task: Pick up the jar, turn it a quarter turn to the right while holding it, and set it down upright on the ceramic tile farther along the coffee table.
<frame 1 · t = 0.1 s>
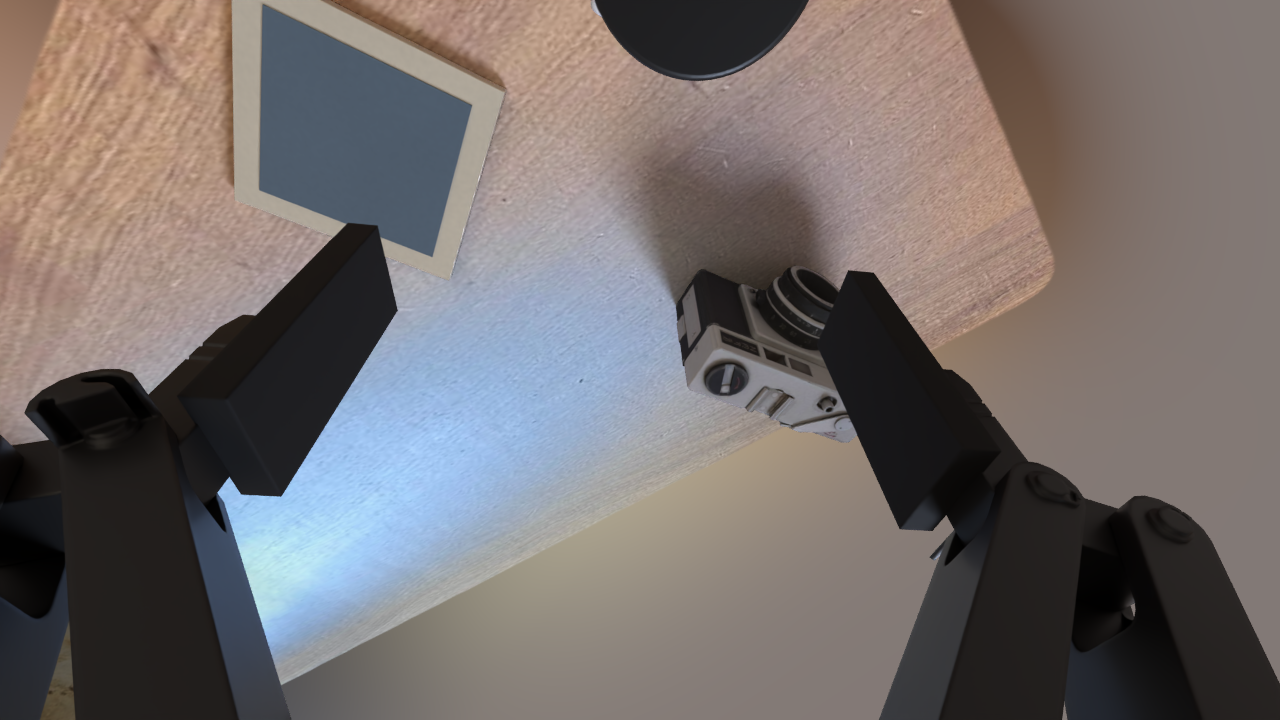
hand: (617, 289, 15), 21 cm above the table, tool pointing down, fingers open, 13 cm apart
tile: (366, 145, 32), on the table
vase: (194, 559, 64), on the table
camera: (774, 303, 40), on the table
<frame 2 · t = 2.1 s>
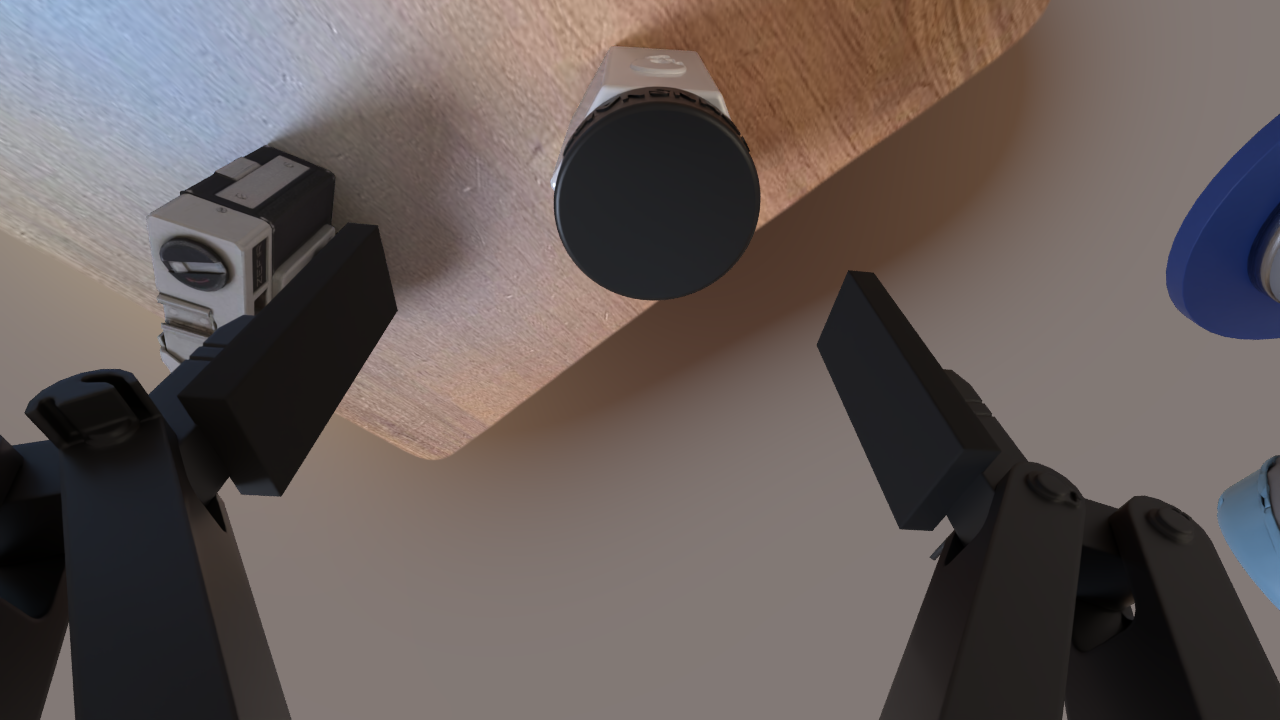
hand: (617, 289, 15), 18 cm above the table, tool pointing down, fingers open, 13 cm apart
jar: (648, 126, 29), on the table
camera: (323, 262, 35), on the table
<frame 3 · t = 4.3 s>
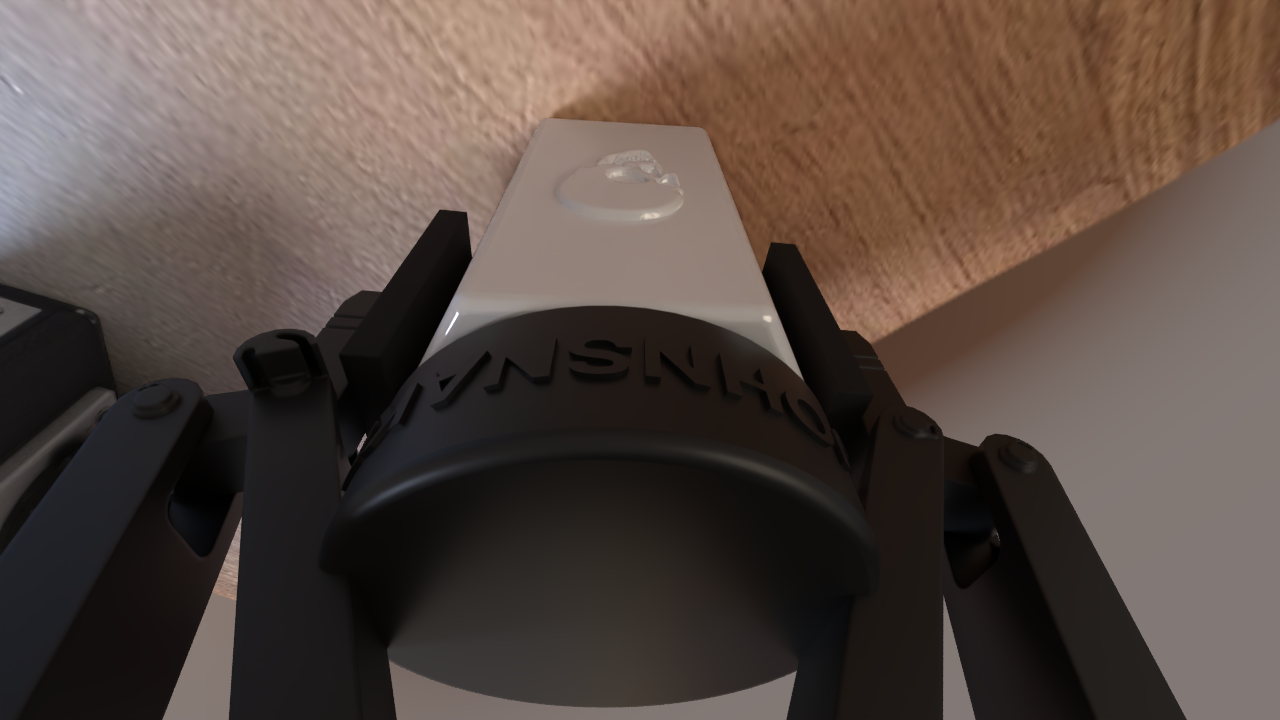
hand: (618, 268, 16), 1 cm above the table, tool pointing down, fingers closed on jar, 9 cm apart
jar: (619, 243, 17), on the table, touching gripper
camera: (120, 425, 22), on the table
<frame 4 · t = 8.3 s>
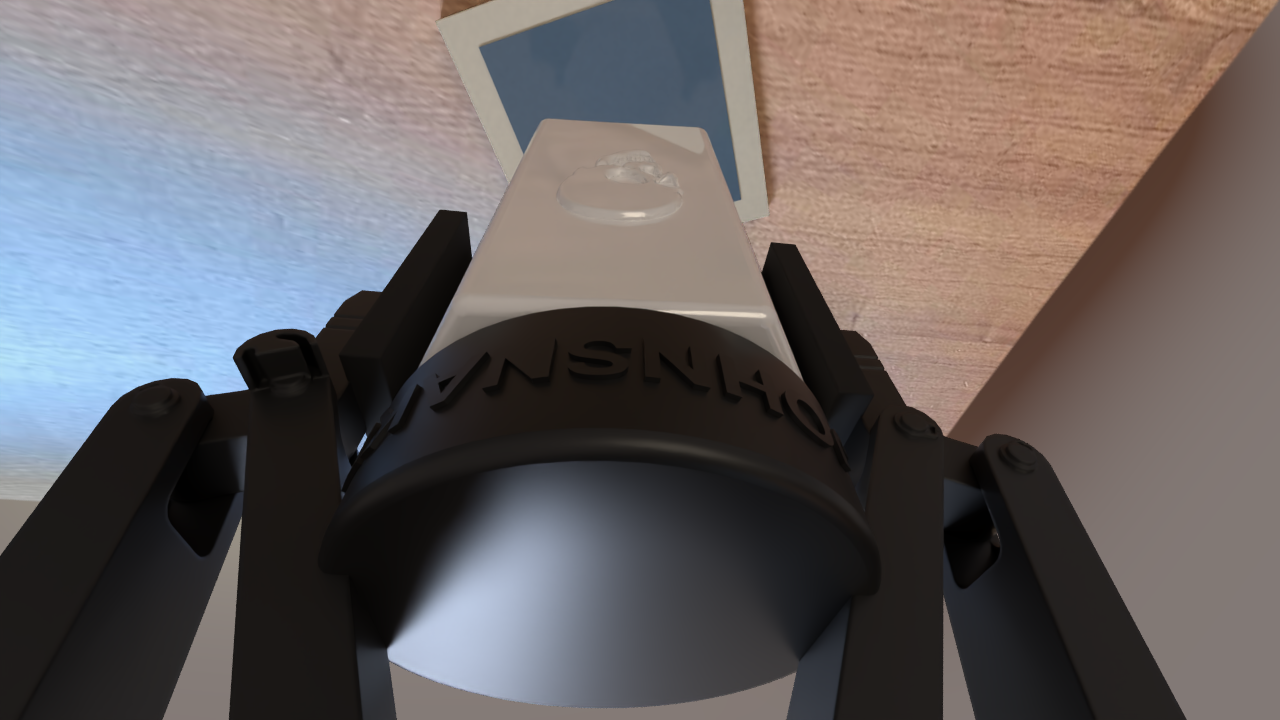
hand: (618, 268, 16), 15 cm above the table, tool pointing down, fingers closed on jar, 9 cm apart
tile: (622, 125, 27), on the table
jar: (619, 243, 17), point 14 cm above the table, touching gripper
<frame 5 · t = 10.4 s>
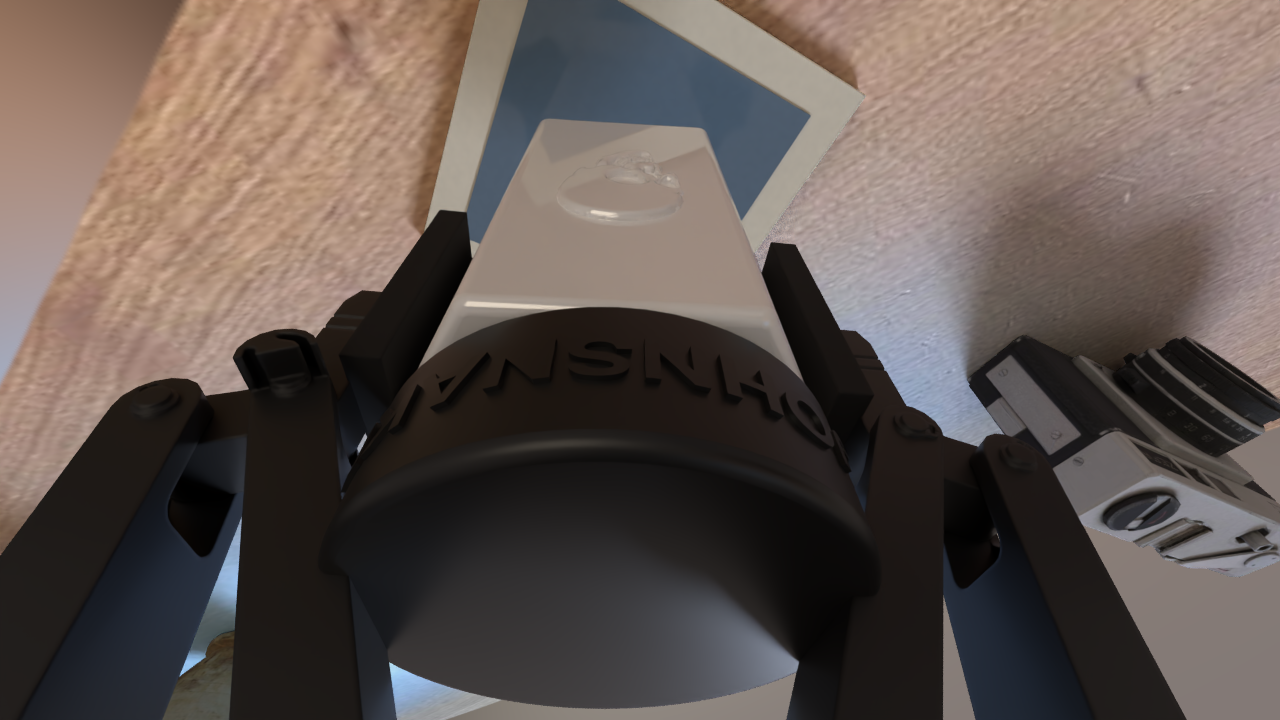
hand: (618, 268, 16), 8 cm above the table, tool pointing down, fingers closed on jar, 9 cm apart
tile: (623, 172, 22), on the table
vase: (268, 645, 54), on the table
jar: (619, 244, 17), point 7 cm above the table, touching gripper
camera: (1095, 375, 30), on the table
when the fingers open (2 cm above the table, at t = 12.2 s): jar stays where it is, resting on tile.
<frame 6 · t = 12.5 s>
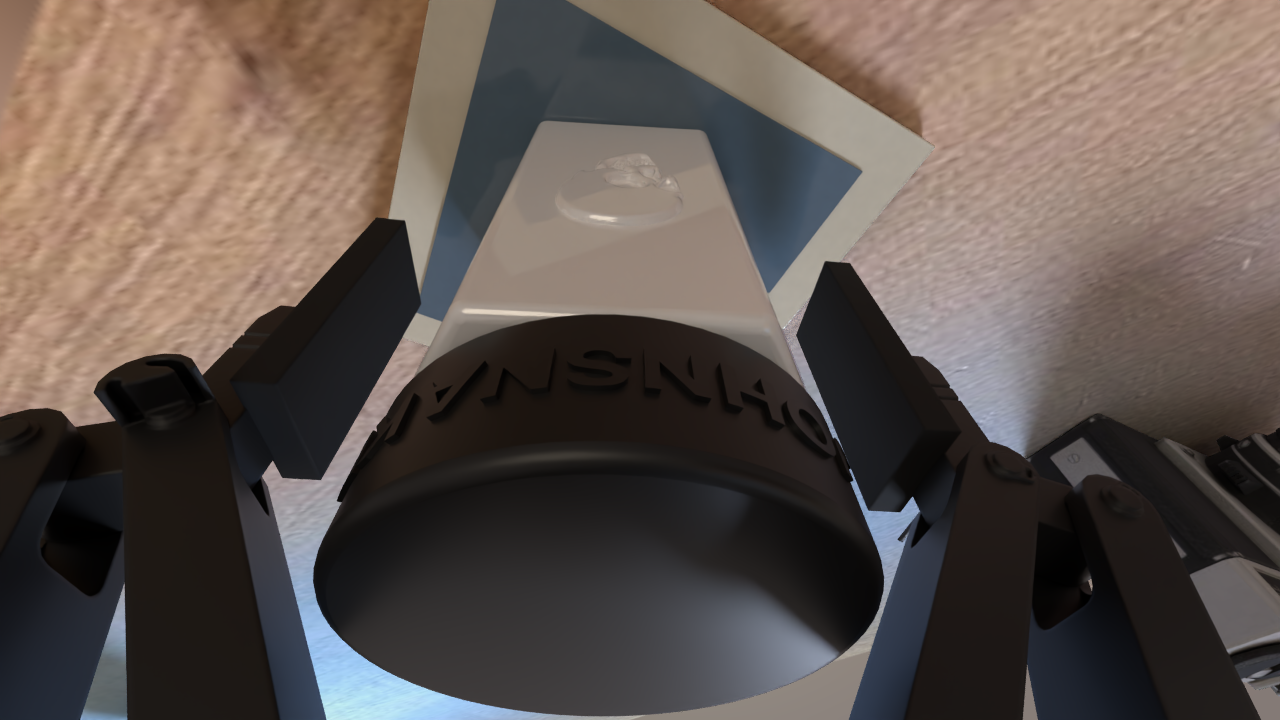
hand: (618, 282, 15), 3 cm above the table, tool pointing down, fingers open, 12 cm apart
tile: (619, 236, 17), on the table
jar: (619, 246, 17), point 1 cm above the table, touching tile
camera: (1175, 454, 26), on the table
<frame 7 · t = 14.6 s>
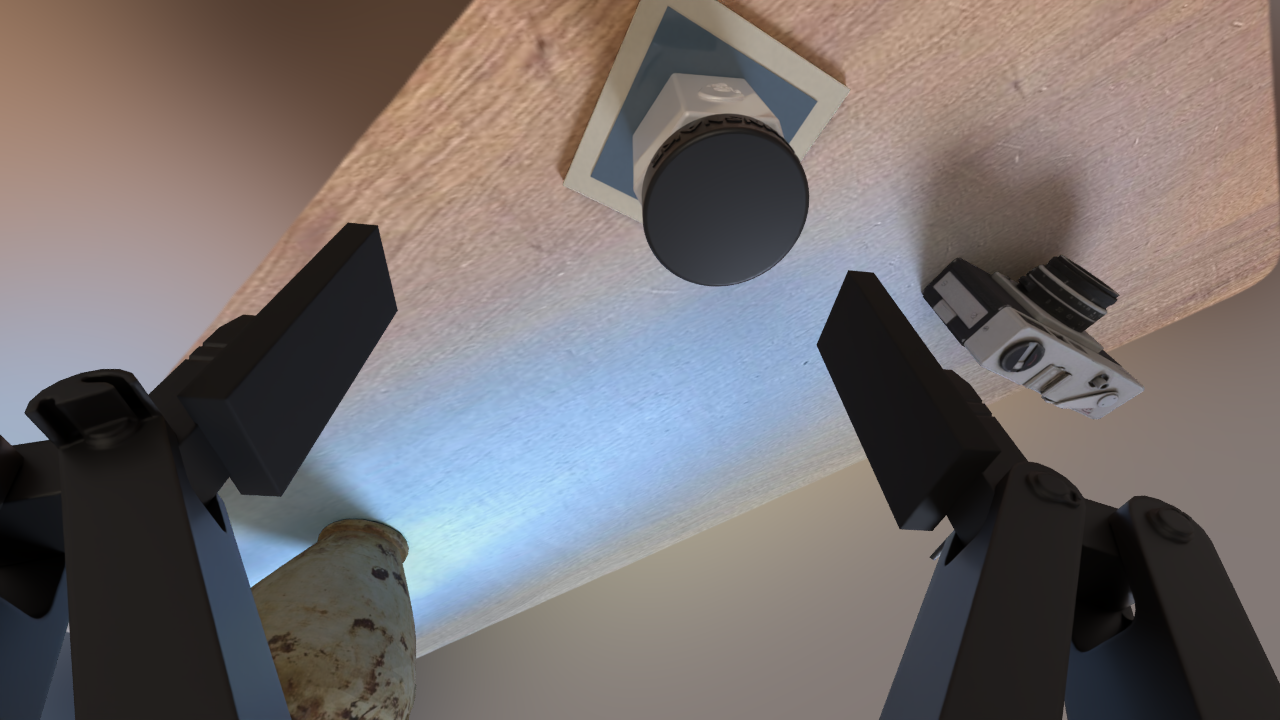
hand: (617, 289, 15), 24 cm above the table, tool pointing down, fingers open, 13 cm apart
tile: (697, 136, 35), on the table
vase: (365, 537, 66), on the table
jar: (698, 140, 34), point 1 cm above the table, touching tile
camera: (1010, 290, 43), on the table
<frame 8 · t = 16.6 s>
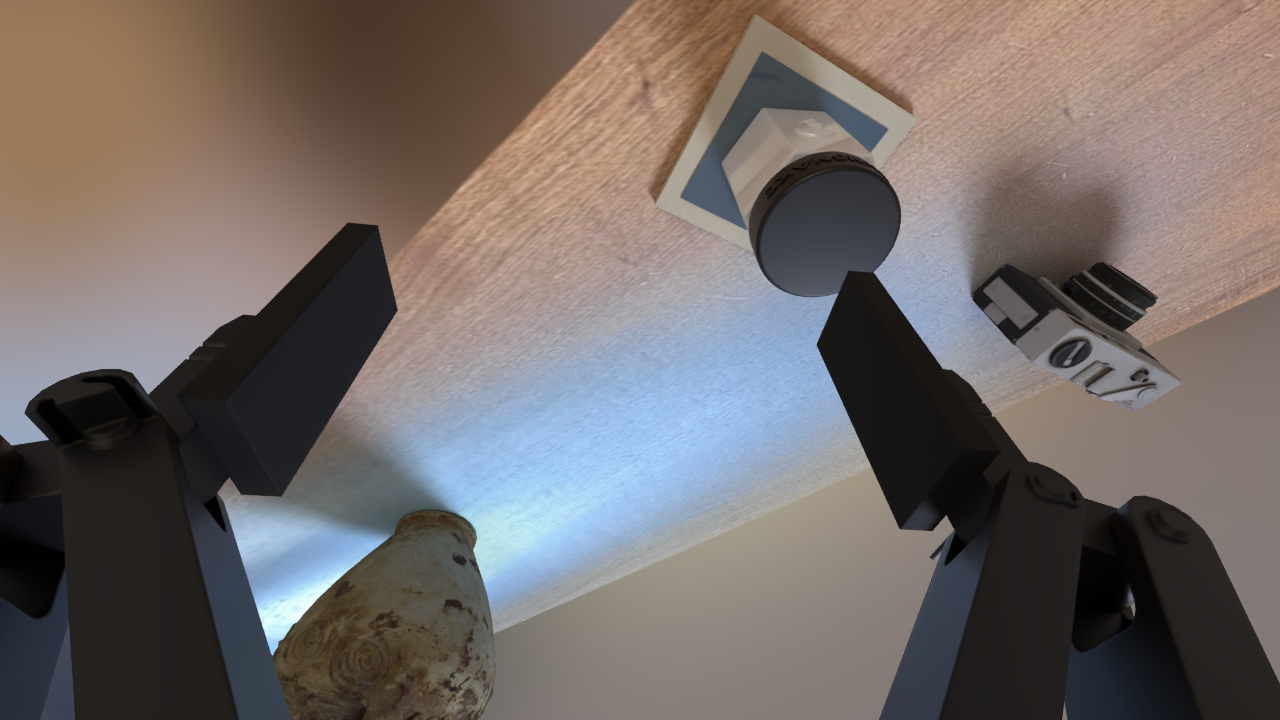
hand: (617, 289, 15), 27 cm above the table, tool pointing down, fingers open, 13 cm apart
tile: (777, 161, 39), on the table
vase: (436, 527, 71), on the table
jar: (779, 164, 38), point 1 cm above the table, touching tile
camera: (1053, 293, 47), on the table
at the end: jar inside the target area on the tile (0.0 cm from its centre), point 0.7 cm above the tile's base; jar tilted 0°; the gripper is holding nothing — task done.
